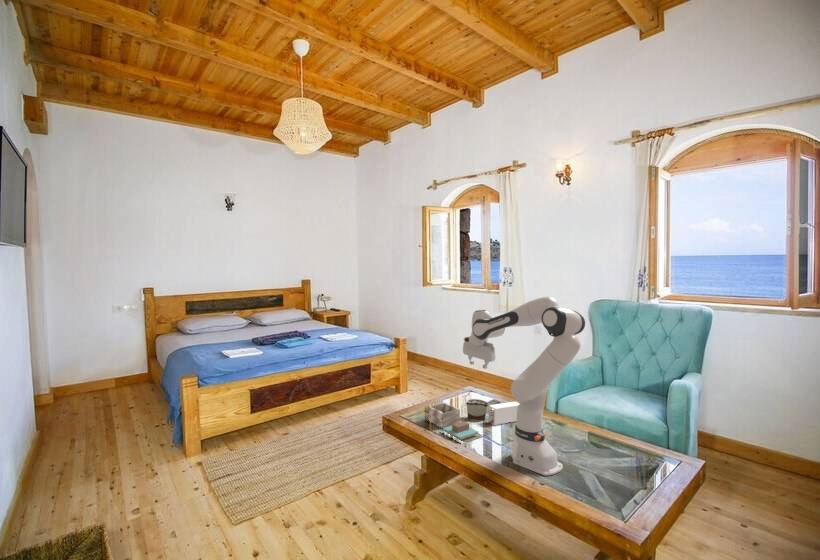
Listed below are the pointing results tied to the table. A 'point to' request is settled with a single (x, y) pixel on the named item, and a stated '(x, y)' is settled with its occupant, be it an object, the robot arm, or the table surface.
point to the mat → (471, 438)
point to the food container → (476, 409)
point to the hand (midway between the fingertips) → (478, 366)
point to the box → (443, 415)
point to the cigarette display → (503, 413)
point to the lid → (460, 430)
